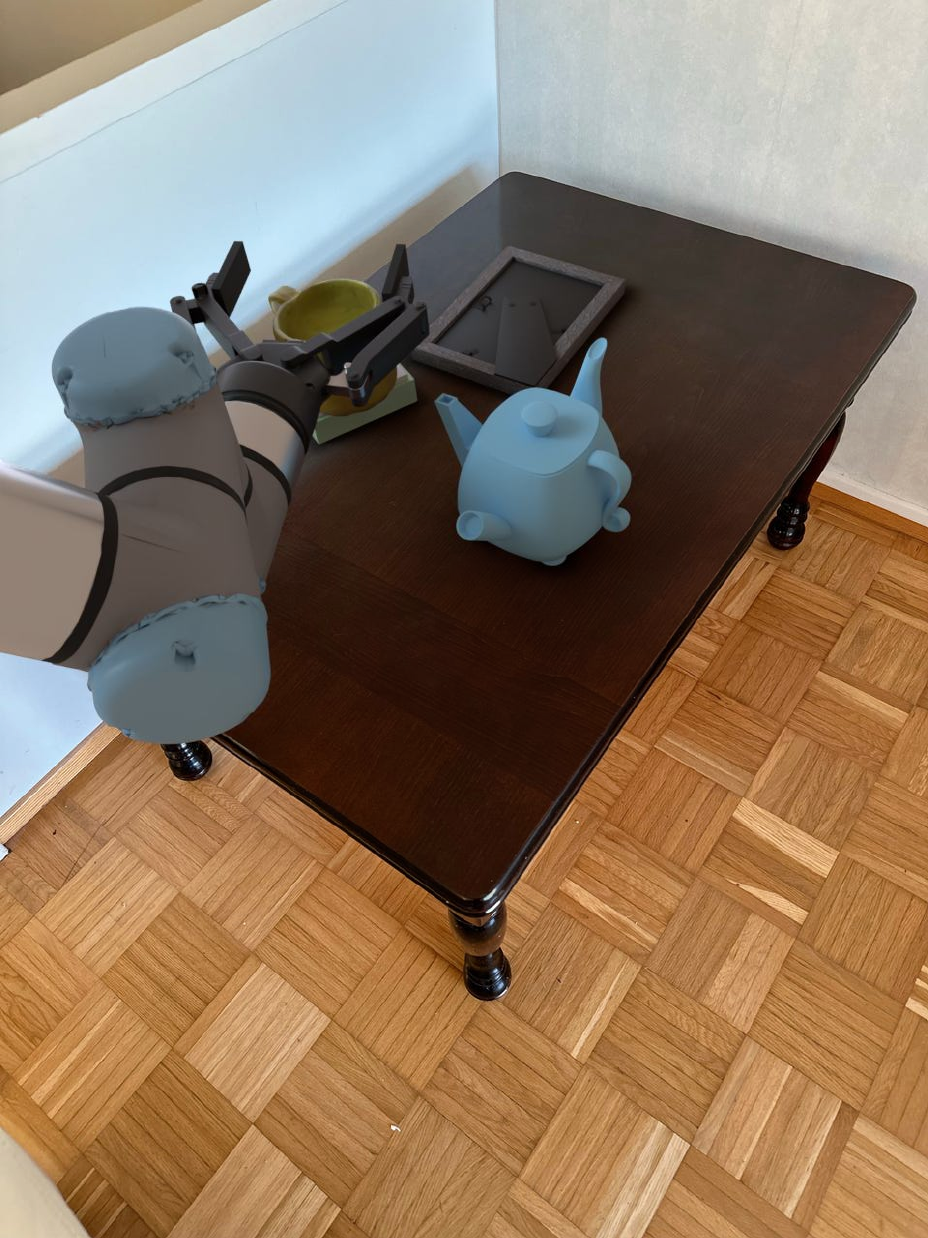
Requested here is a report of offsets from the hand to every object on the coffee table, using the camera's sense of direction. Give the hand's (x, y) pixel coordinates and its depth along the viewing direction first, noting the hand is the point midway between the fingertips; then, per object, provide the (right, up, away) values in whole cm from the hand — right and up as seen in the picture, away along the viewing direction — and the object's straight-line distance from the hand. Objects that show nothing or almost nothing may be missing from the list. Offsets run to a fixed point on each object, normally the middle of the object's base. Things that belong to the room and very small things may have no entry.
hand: (322, 257), depth 74 cm
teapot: (+17, -21, -1) cm, 28 cm away
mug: (0, -8, +6) cm, 11 cm away
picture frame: (+17, -1, +14) cm, 22 cm away
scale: (+1, -9, +9) cm, 13 cm away
